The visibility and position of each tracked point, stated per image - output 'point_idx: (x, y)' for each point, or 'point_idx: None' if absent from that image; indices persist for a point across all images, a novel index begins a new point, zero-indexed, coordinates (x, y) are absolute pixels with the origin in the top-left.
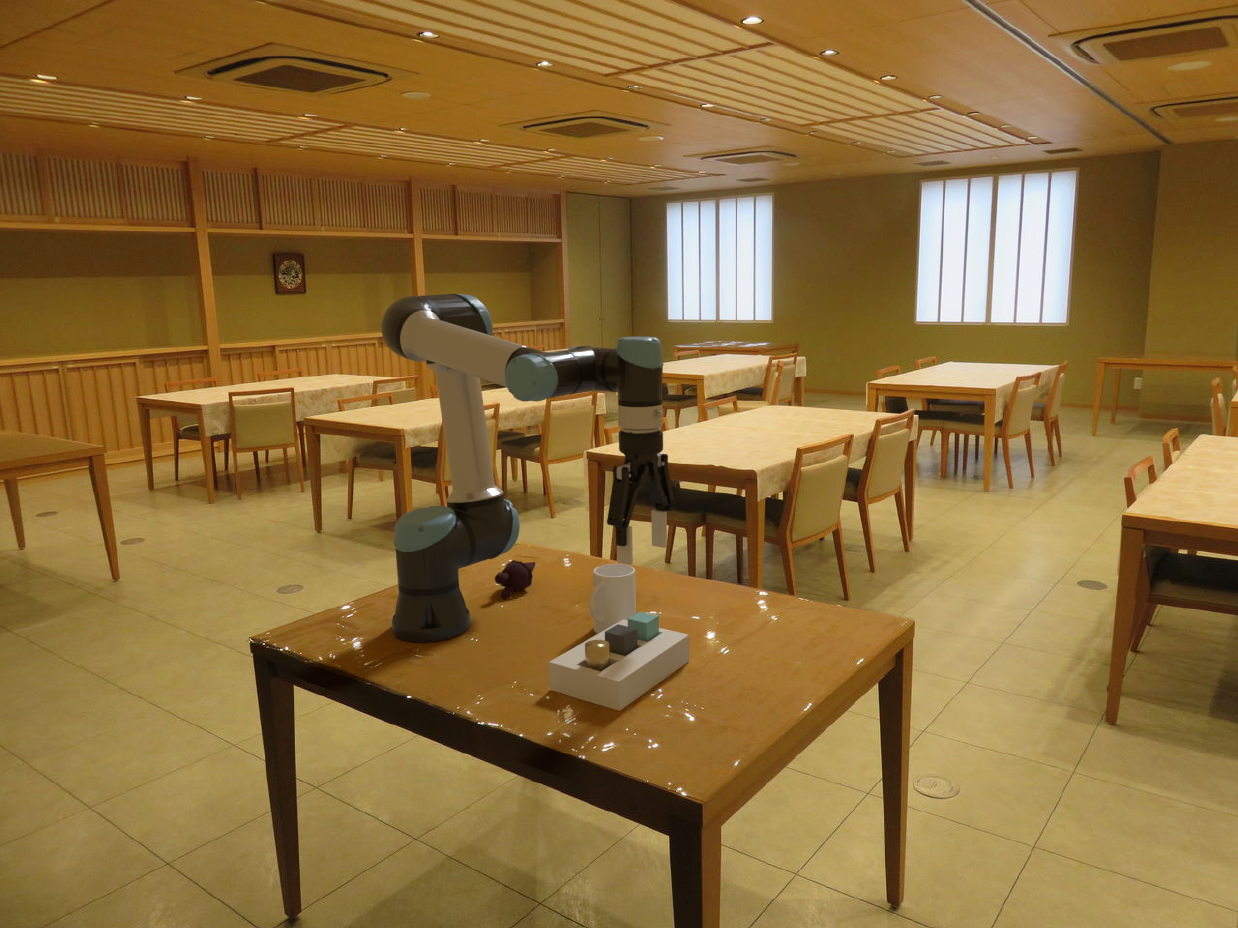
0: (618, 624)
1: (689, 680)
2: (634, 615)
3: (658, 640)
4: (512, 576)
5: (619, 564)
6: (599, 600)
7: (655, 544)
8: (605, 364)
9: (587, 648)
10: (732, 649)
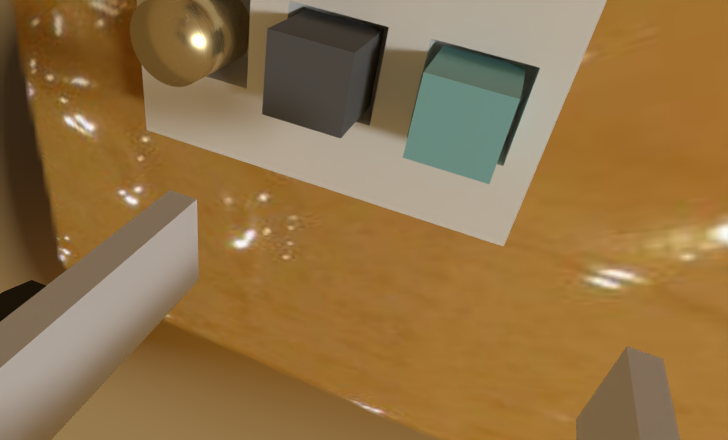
0: (353, 56)
1: (395, 218)
2: (468, 89)
3: (430, 166)
4: None
5: None
6: None
7: (613, 380)
8: None
9: (131, 22)
10: (622, 296)
